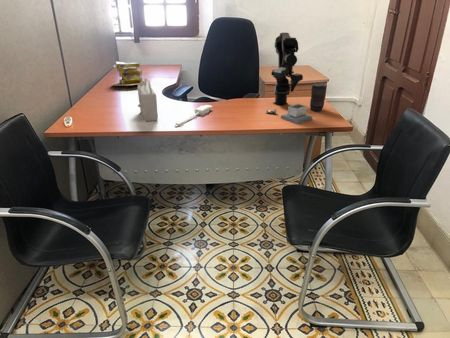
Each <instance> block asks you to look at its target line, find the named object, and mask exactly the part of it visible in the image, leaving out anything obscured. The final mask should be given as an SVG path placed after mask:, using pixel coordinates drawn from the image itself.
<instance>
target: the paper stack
mask: <svg viewBox="0 0 450 338" xmlns="http://www.w3.org/2000/svg"><path fill="white" fill-rule="evenodd" d="M113 68H115V69H116V70H117V72H118V77H119V78H120V77H121V79H119V82H115V83H112V84H111V85H112V86H120V87H121V86H125V88H126V89H127V88H128V86H135V85H140V83H141V75H140V69H139V68H140V62H137V61H135V62H133V61H132V62H122V61H115V63H114V65H113ZM138 69H139V70H138ZM142 83H143V84H145V80H144V81H143V80H142ZM146 84H148V81H146Z"/></svg>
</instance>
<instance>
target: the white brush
mask: <svg viewBox="0 0 450 338" xmlns="http://www.w3.org/2000/svg"><path fill="white" fill-rule="evenodd" d="M212 109H213V105H210V104H205V105H201V106H199V107H196V109H194V114H193V115H191V116H189V117H187V118H185V119H184V120H181V121H178V122H175V125H174V127H175V128H176V127H177V128H178V127H181V126H183V125H184V123H185V122H187V121H188V120H191V119H192V118H194V117H195V116H197V115H198V116H202V117H203V116H205V115H206V114H208V113H210V111H211V110H212Z"/></svg>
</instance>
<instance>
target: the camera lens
mask: <svg viewBox="0 0 450 338" xmlns="http://www.w3.org/2000/svg"><path fill="white" fill-rule="evenodd" d="M310 90H311V92H310V93H311V96H310V101H309V102H310V103H309V105H310V106H309V108H310V110H311V111H313V112H322V111H323V108H324V106H325V99H326V93H327V84H326V83H325V82H324V83H323V82H314V83H312V84H311V89H310Z"/></svg>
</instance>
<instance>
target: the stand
mask: <svg viewBox="0 0 450 338" xmlns="http://www.w3.org/2000/svg"><path fill="white" fill-rule="evenodd" d="M280 119H282V120H285V121H287V122H290V123H293V124H297V125H299V124H302V123H306V122H308V121H312V120H313V116H312V115H308V114H306V115H305V116H302V117H299V118H294V117H291V116H288V112H287V113H284V114H281V115H280Z"/></svg>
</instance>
